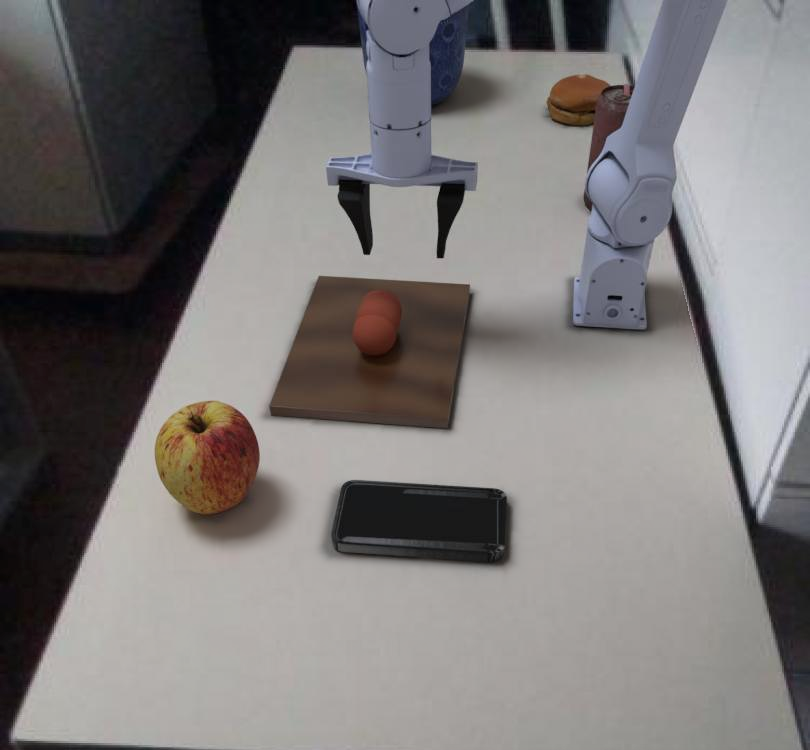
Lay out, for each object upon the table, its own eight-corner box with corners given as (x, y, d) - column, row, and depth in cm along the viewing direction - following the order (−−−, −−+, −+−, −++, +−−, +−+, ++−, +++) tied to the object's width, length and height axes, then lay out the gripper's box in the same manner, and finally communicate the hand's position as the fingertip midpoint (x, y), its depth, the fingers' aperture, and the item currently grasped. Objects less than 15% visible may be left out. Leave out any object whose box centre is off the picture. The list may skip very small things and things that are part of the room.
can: (627, 192, 115) (647, 82, 104) (631, 216, 111) (652, 103, 100) (582, 191, 115) (597, 81, 105) (583, 214, 111) (599, 102, 101)
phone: (504, 554, 72) (328, 542, 73) (503, 563, 73) (330, 550, 74) (507, 488, 77) (343, 477, 78) (506, 496, 78) (344, 486, 79)
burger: (559, 130, 128) (562, 97, 124) (538, 105, 134) (541, 73, 131) (620, 122, 129) (625, 89, 126) (597, 98, 135) (601, 66, 132)
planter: (354, 82, 142) (347, -24, 130) (454, 72, 144) (456, -34, 132) (370, 124, 131) (364, 13, 119) (478, 113, 133) (482, 2, 121)
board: (447, 428, 84) (447, 419, 83) (270, 415, 86) (269, 406, 85) (469, 293, 100) (470, 284, 99) (319, 284, 102) (318, 275, 101)
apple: (246, 542, 75) (226, 459, 68) (152, 526, 77) (121, 443, 69) (280, 471, 81) (264, 388, 73) (191, 457, 82) (167, 374, 75)
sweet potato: (391, 367, 89) (394, 331, 86) (348, 361, 90) (349, 324, 86) (403, 320, 95) (406, 284, 91) (362, 314, 95) (363, 278, 92)
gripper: (482, 101, 80) (477, 234, 91) (331, 97, 82) (343, 229, 92) (476, 133, 76) (471, 270, 86) (316, 129, 77) (330, 264, 88)
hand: (404, 251), depth 89 cm, fingers open, 7 cm apart
